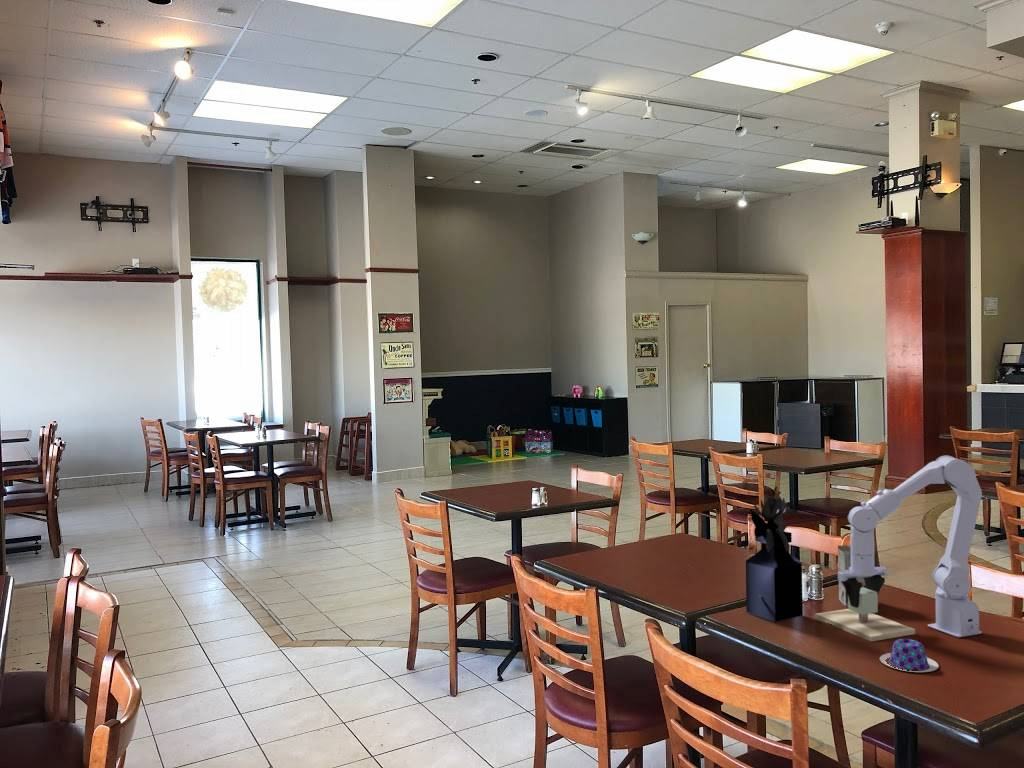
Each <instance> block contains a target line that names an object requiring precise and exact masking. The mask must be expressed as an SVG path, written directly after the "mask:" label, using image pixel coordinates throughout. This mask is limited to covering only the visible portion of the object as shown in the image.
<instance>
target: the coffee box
mask: <svg viewBox="0 0 1024 768" xmlns="http://www.w3.org/2000/svg"><path fill="white" fill-rule="evenodd" d="M877 557H878V554H877V549H875V548H874V559H875V567H878V558H877ZM837 560H838V561H837V562H838V563H837V565H838V567H837V569H838V572H842V571H845V570H848V569H849V567H851V546H850V545H848V544H846V545H845V544H844V545H837ZM838 572H837V573H838ZM856 580H858V582H860V583H862V586H861V588H862V587H864V588H866V585H865V581H864V578H858V579H856ZM839 600H840V603H842V605H843V606H845V607H848V594H847V591H846V589H845V587H844V585H843V584H842V582H841V580H838V601H839Z"/></svg>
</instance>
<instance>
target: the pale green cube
mask: <svg viewBox="0 0 1024 768" xmlns="http://www.w3.org/2000/svg"><path fill="white" fill-rule="evenodd" d="M878 607H879V594H877V592H875V591H872V590H869V589H867V588H864V587H862V588H861V589H860V595H859V606H858V608H856V607H853V606H851V604H850V600H849V597H848V606H847V609H849V610H852V611H854V612H857V613H860V614H869V613H873V614H875V613H878V612H879V611H878V610H879V609H878Z"/></svg>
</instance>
